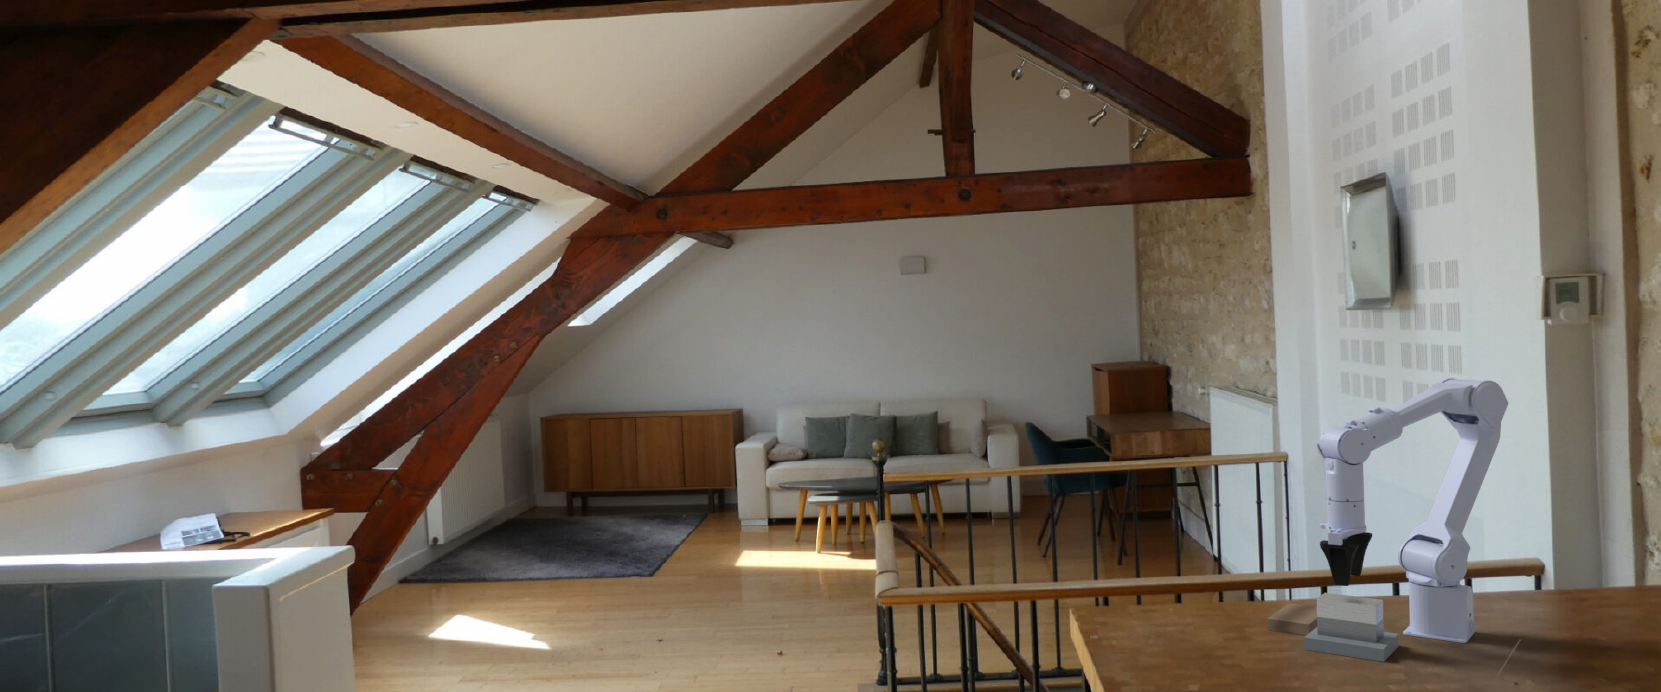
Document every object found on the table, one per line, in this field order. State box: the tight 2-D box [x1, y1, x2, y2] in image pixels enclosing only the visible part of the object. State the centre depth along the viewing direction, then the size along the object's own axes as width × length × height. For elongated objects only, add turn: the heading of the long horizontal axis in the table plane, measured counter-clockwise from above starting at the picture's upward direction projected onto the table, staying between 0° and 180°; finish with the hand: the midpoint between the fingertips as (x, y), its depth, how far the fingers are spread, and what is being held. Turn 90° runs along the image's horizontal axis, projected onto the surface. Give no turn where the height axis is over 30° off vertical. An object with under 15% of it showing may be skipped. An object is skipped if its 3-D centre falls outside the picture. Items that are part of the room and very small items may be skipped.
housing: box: [1316, 592, 1385, 643], centre depth 181 cm, size 4×9×6 cm, turn 50°
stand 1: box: [1266, 603, 1317, 637], centre depth 195 cm, size 7×12×2 cm, turn 140°
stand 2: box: [1303, 627, 1400, 662], centre depth 181 cm, size 12×10×2 cm
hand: (1347, 580), depth 184 cm, fingers open, 7 cm apart
